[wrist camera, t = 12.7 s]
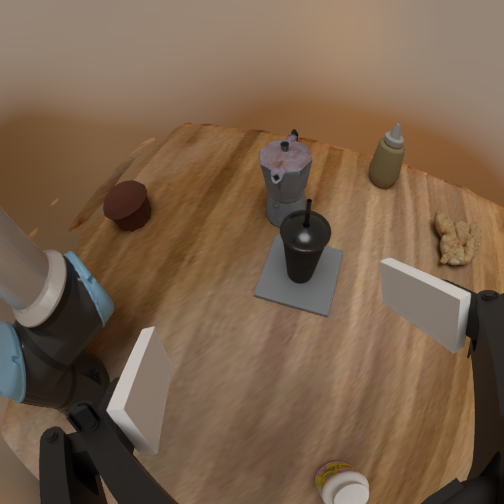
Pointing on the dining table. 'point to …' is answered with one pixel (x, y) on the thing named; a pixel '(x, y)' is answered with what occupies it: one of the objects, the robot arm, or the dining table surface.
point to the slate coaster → (299, 295)
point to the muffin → (128, 205)
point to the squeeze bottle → (388, 158)
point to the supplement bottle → (341, 484)
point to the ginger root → (457, 240)
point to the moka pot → (285, 176)
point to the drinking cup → (304, 242)
